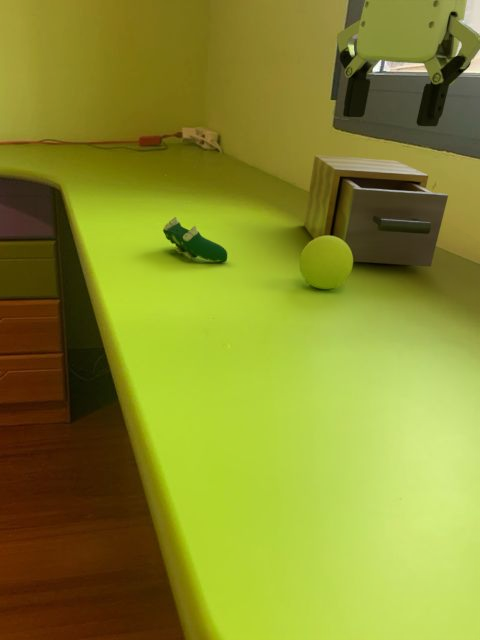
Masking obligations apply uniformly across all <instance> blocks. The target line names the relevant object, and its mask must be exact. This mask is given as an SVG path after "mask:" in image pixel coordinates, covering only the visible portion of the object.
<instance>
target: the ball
mask: <svg viewBox="0 0 480 640" xmlns="http://www.w3.org/2000/svg"><path fill="white" fill-rule="evenodd" d="M298 266H299V270H300V271H299V272H300V274H301V276H302V278H303V279H304V281H305V282H306V283H307V284H309V285H310V286H311V287H313V288H316V289H318V290H330V289H331V290H332V289H334V288H337V287H338V286H340V285H341V284H343V283H344V282H346V280H347V279H348V278H349V276H350V274H351V272H352V270H353V267H354V261H353V255H352V252H351V250H350V248H349V246H348V245H347V244H346V243H345V242H344V241H343V240H341V239H340V238H338V237H335V236H328V235H327V236H320V237H317V238H315V239H314V238H312V240H311V241H309V242H308V243H307V244H306V245H305V247H304V248H303V249H302V252H301V253H300V256H299V265H298Z"/></svg>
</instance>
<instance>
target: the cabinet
mask: <svg viewBox="0 0 480 640" xmlns="http://www.w3.org/2000/svg"><path fill="white" fill-rule="evenodd" d="M340 176H342V177H357V178H372V179H386V180H401V181H411V182H413V183H415V184H417V185H419V186H421V187H423V188H425V189H427V186H428V185H427V184H428V180H429V175H428V174H426V173H424V172H422V171H420V170H418V169H415V168H413V167H411V166H409V165H407V164H405V163H402V162H400V161H398V160H391V159H379V158H378V159H377V158H375V159H374V158H362V157H350V156H349V157H347V156H333V155H319V154H318V155H317V154H315V155H314V156H313V165H312V170H311V177H310V183H309V190H308V196H307V202H306V210H305V215H304V223H303V227H304V228H305V229H306V231H307V232H308V233H309V235H310V237H312V239H315V238H317V237H320V236H327V235H328V236H330V232H331V226H332V220H333V214H334V209H335V203H336V197H337V191H338V186H339V180H340Z"/></svg>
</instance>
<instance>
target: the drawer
mask: <svg viewBox="0 0 480 640" xmlns="http://www.w3.org/2000/svg"><path fill="white" fill-rule="evenodd" d="M448 198H449V195H448V194H447V193H441V192H433V191H431V190H429V189H427V188H426V189H425V188H423V187H421V186H419V185H417V184H415V183H413V182H411V181H401V180H386V179H372V178H357V177H342V176H340V180H339V186H338V191H337V197H336V203H335V209H334V214H333V220H332V226H331V232H330V236H335V237H338V238H340V239H341V240H343V241H344V242H345V243H346V244H347V245H348V246H349V248H350V250H351V252H352V255H353V262H356V263H371V264H372V263H373V264H386V265H402V266H416V267H432V263H433V258H434V255H435V251H436V246H437V243H438V239H439V236H440V235H439V234H440V231H441V226H442V222H443V219H444V215H445V211H446V207H447V202H448Z"/></svg>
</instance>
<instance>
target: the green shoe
mask: <svg viewBox="0 0 480 640" xmlns="http://www.w3.org/2000/svg"><path fill="white" fill-rule="evenodd" d="M197 228H198V227H197V226H195V225H194V226H192V227H191V228H190V229H188V228H185V227H183V226H182V225H181V223H180V221H179V220H178V218H177V217H176V216H174V217H173V218H172V219H170V220H168V223H165V225H164V227H163V229H162V232H163V234H164V235H165V236H164V237H165V239H167V241H169V242H170V243H171V244H173V245H175V247H174V250H175V251H176V252H177V253H178V254H182V253H184V256H185V257H186V258H188V259H189V260H192V259H196V258H197V257H198V258H200V259H202V260H203V259H204V260H206V261H210V262H215V263H225V262H227V261H228V252H227V249H226V248H224V247H223V246H222V245H220V244H219V243H216V242H214V241H212V240H209V239H208V238H206V237H204V236H203V235H201V233H200V232H199V231H198V229H197Z"/></svg>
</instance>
